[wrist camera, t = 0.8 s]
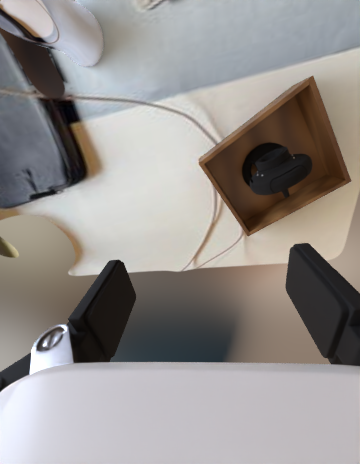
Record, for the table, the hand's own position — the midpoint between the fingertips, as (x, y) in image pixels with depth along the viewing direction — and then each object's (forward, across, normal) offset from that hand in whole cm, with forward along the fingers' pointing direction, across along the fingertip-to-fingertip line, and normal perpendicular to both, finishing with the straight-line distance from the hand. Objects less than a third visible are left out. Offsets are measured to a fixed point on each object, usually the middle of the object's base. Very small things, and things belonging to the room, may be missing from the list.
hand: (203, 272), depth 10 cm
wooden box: (+26, -11, 0) cm, 28 cm away
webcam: (+25, -11, 0) cm, 28 cm away
